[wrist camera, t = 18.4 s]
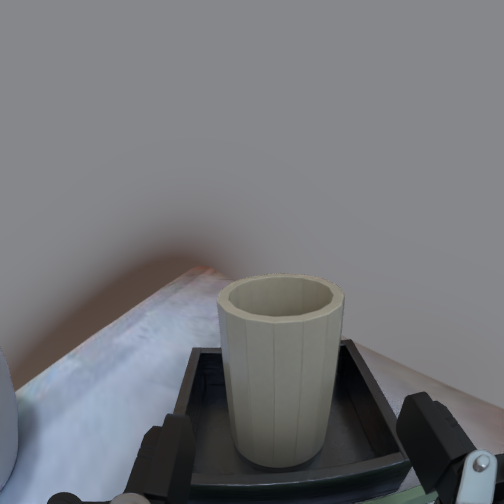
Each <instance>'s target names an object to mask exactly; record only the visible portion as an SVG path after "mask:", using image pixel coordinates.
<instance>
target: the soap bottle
mask: <svg viewBox="0 0 504 504" xmlns="http://www.w3.org/2000/svg"><path fill="white" fill-rule="evenodd" d="M17 451H18V407H17V401H16V396H15V392H14V389H13V385H12V381H11V377H10V373H9V368H8V364H7V360H6V358H5V356H4V354H3V352H2V350H1V348H0V491H1V489H2V488H3V487H4V485H5V483H6V482H7V480H8V478H9V476H10V474H11V472H12V469H13V467H14V464H15V461H16V456H17Z"/></svg>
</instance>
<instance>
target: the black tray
mask: <svg viewBox="0 0 504 504" xmlns="http://www.w3.org/2000/svg"><path fill="white" fill-rule="evenodd" d="M173 414H180V415H188V416H189V418H190V422H191V426H192V430H193V434H194V438H195V443H196V455H195V461H194V467H193V473H192V479H191V485H190V491H189V497H188V503H187V504H349V503H354V502H359V501H363V500H367V499H371V498H375V497H378V496H382V495H386V494H389V493H392V492H396V491H398V489H399V487H400V486H401V484H402V482H403V481H404V479H405V478H406V476H407V474H408V473H409V471H410V469H411V467H412V464H411V462H410V460H409V458H408V456H407V454H406V452H405V450H404V448H403V446H402V444H401V442H400V440H399V438H398V436H397V433H396V422H397V418H396V416H395V414H394V412H393V410H392V409H391V407H390V405H389V403H388V401H387V400H386V398H385V396H384V394H383V393H382V391H381V389H380V387H379V386H378V384H377V382H376V380H375V379H374V377H373V375H372V373H371V372H370V370H369V368H368V367H367V365H366V363H365V361H364V360H363V358H362V356H361V355H360V353H359V351H358V350H357V348H356V346H355V344H354V343H353V341H352V340H351V339H349V340H341V342H340V351H339V359H338V367H337V375H336V382H335V389H334V395H333V402H332V408H331V414H330V420H329V425H328V430H327V434H326V438H325V442H324V444H323V446H322V448H321V449H320V451H319V452H318V453H317V454H316V455H315V456H314V457H312V458H311V459H309V460H308V461H306V462H304V463H301V464H299V465H295V466H291V467H285V468H272V467H266V466H262V465H258V464H256V463H253V462H251V461H250V460H248V459H246V458H245V457H244V456H243V455H242V454H241V453H240V452H239V451H238V450H237V448H236V446H235V444H234V441H233V437H232V433H231V426H230V418H229V410H228V402H227V394H226V385H225V376H224V368H223V358H222V349H221V348H193V349H192V352H191V355H190V358H189V362H188V365H187V368H186V372H185V375H184V378H183V382H182V385H181V388H180V392H179V395H178V398H177V402H176V405H175V409H174V412H173Z"/></svg>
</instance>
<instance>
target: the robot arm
mask: <svg viewBox="0 0 504 504" xmlns="http://www.w3.org/2000/svg"><path fill="white" fill-rule="evenodd" d="M396 433H397V436H398V438H399V440H400V442H401V444H402V446H403V448H404V450H405V452H406V454H407V456H408V458H409V460H410V462H411V464H412V466H413V469H414V471H415V473H416V475H417V477H418V479H419V481H420V483H421V485H422V487H423V489H424V492H425V494H426V495H428V494H430V493H433V492H435V491H437V493H438V496H437V498H436V500H435V503H434V504H504V453H503V454H498V455H494V454H493V453H491V452H490V451H488V450H484V449H478V450H477V449H476V447H475V446H474V445H473V443H472V442H471V440H470V439H469V438H468V436H467V435H466V433H465V432H464V431H463V429H462V428H461V426H460V425H459V424H458V422H457V421H456V419H455V418H454V417H453V415H452V414H451V413H450V411H449V410H448V409H447V407H446V406H444V405H443V404H441V403H440V402H438V401H432V399H431V398H430V396H429V395H428V394H427V393H426V392H420V393H416V394H412V395H408V396H406V397H405V399H404V402H403V405H402V408H401V411H400V414H399V417H398V419H397V422H396ZM195 455H196V443H195V438H194V434H193V430H192V426H191V422H190V418H189V416H188V415H180V414H167V415H166V417H165V420H164V423H163V426H162V427H160V426H153V427H152V428H151V429H150V430H149V431H148V432H147V433H146V434H145V435H144V438H143V440H142V443H141V448H140V449H139V451H138V454H137V457H136V460H135V463H134V466H133V468H132V471H131V474H130V477H129V480H128V483H127V486H126V488H125V490H124V492H123V493H122V494H120V495H118V496H116V497H115V498H113V499H112V500H111V501H106V502H83V501H81V500H80V499H79V498H78V497H77V496H76V495H74V494H71V493H68V492H61V493H57V494H55V495H53V496H52V497H51V498H50V499H49V500H48V502H47V504H187V503H188V497H189V491H190V485H191V479H192V473H193V467H194V461H195Z"/></svg>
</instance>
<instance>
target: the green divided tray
mask: <svg viewBox="0 0 504 504" xmlns="http://www.w3.org/2000/svg"><path fill="white" fill-rule="evenodd" d="M437 496H438V493H437V491H435V492H433V493H430V494H428V495H426V494H425V492H424V489H423V487H422V485H419V486H416V487H414V488H411V489H408V490H405V491H402V492H399V493H396V494H392V495H389V496H386V497H382V498H379V499H375V500H371V501H367V502H363V503H359V504H426V503H429V502H431V501H434V500H436V498H437Z"/></svg>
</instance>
